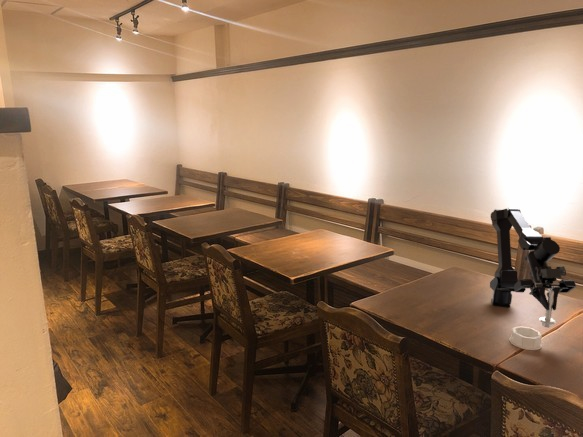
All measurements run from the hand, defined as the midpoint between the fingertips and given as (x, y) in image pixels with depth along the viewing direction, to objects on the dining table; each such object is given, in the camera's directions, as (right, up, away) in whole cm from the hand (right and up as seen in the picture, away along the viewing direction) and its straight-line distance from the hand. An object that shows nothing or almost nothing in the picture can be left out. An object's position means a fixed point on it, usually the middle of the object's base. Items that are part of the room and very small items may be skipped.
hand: (551, 309), depth 156 cm
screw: (0, -6, +3) cm, 7 cm away
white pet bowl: (-6, -12, +5) cm, 15 cm away
